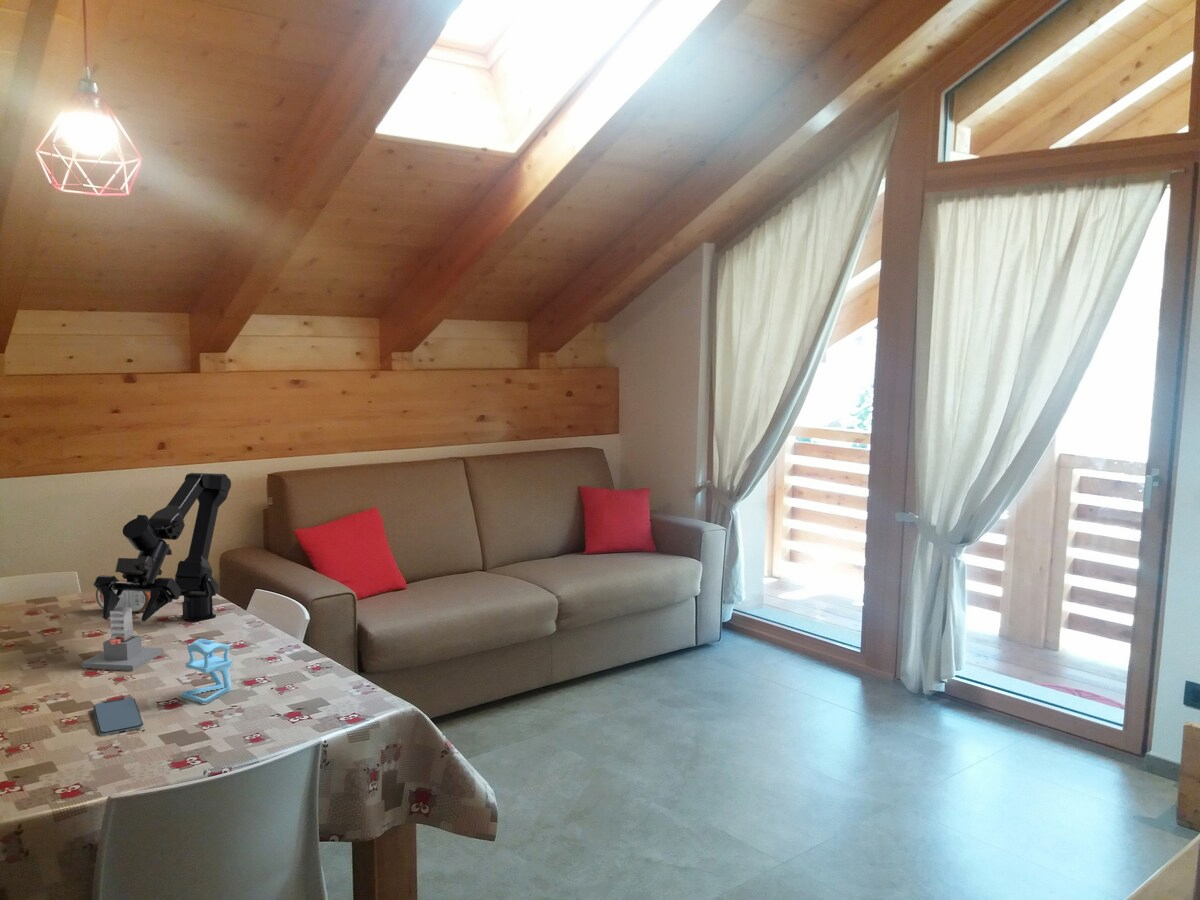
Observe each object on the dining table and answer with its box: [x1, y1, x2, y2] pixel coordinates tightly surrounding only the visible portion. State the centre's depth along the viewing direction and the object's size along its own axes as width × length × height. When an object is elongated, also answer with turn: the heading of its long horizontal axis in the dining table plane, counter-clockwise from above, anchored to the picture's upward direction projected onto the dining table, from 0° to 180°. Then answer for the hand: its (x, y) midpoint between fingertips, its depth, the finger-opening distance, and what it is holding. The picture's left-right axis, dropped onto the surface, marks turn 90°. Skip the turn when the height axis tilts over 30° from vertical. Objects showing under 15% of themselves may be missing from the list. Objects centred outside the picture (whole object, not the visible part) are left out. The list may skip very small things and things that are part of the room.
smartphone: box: [92, 697, 144, 737], centre depth 182 cm, size 8×2×15 cm
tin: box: [95, 579, 151, 613], centre depth 251 cm, size 15×3×8 cm, turn 84°
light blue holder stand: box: [181, 638, 233, 704], centre depth 194 cm, size 8×8×12 cm
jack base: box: [81, 635, 164, 672], centre depth 214 cm, size 12×12×6 cm
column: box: [109, 607, 134, 642], centre depth 213 cm, size 4×3×10 cm
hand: (123, 619), depth 214 cm, fingers open, 9 cm apart
